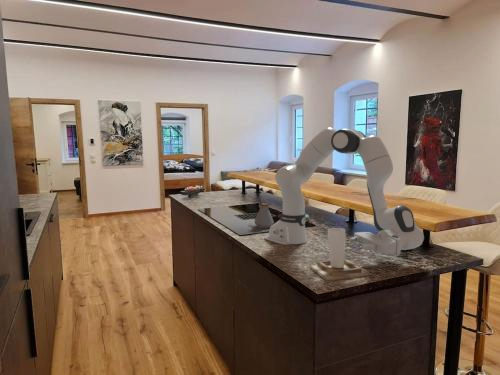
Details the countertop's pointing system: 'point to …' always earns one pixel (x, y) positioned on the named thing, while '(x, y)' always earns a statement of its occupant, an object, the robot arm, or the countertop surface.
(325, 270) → the holder board
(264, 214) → the coffee pot
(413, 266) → the countertop surface
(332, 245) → the drinking glass
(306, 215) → the donut
